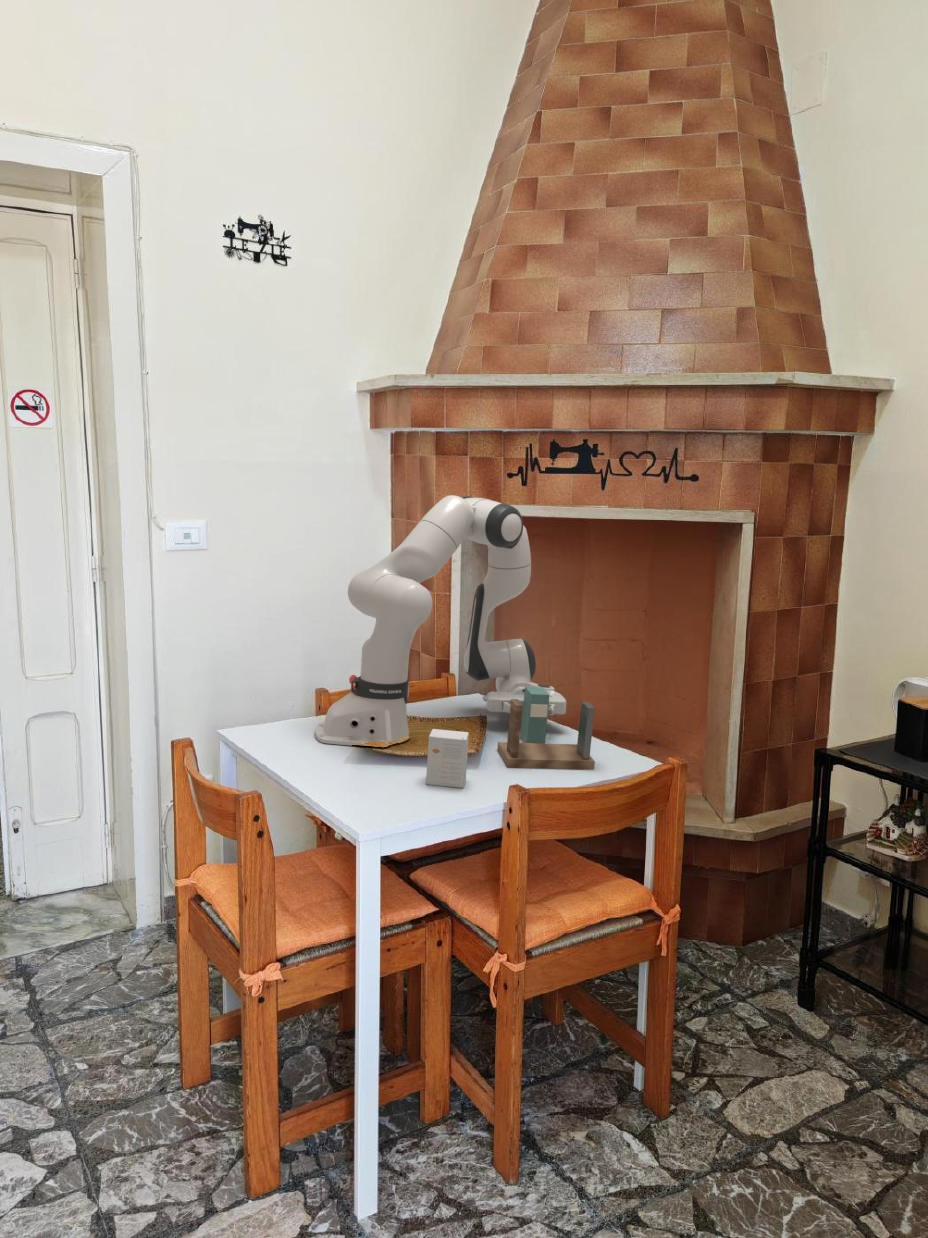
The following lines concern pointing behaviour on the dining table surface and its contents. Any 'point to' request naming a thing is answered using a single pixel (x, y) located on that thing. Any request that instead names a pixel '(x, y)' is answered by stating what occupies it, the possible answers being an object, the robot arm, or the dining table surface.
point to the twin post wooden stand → (537, 749)
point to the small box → (447, 758)
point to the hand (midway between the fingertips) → (532, 712)
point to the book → (534, 715)
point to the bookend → (585, 730)
